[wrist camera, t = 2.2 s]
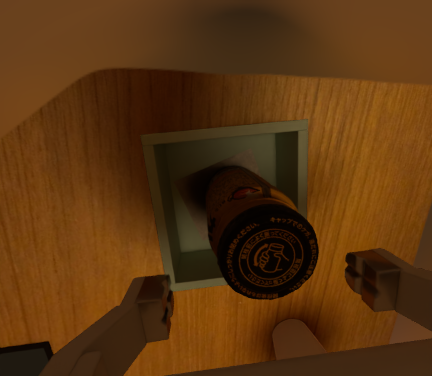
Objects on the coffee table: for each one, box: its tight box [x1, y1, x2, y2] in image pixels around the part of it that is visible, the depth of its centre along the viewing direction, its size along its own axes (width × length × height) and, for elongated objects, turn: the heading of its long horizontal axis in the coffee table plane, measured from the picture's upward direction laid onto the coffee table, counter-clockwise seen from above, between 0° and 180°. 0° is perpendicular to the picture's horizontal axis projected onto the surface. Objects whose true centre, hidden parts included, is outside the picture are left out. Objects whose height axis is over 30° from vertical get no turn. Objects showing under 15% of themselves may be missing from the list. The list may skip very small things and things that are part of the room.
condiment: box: [174, 148, 319, 300], centre depth 16 cm, size 7×8×12 cm
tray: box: [140, 119, 308, 291], centre depth 19 cm, size 14×13×5 cm
